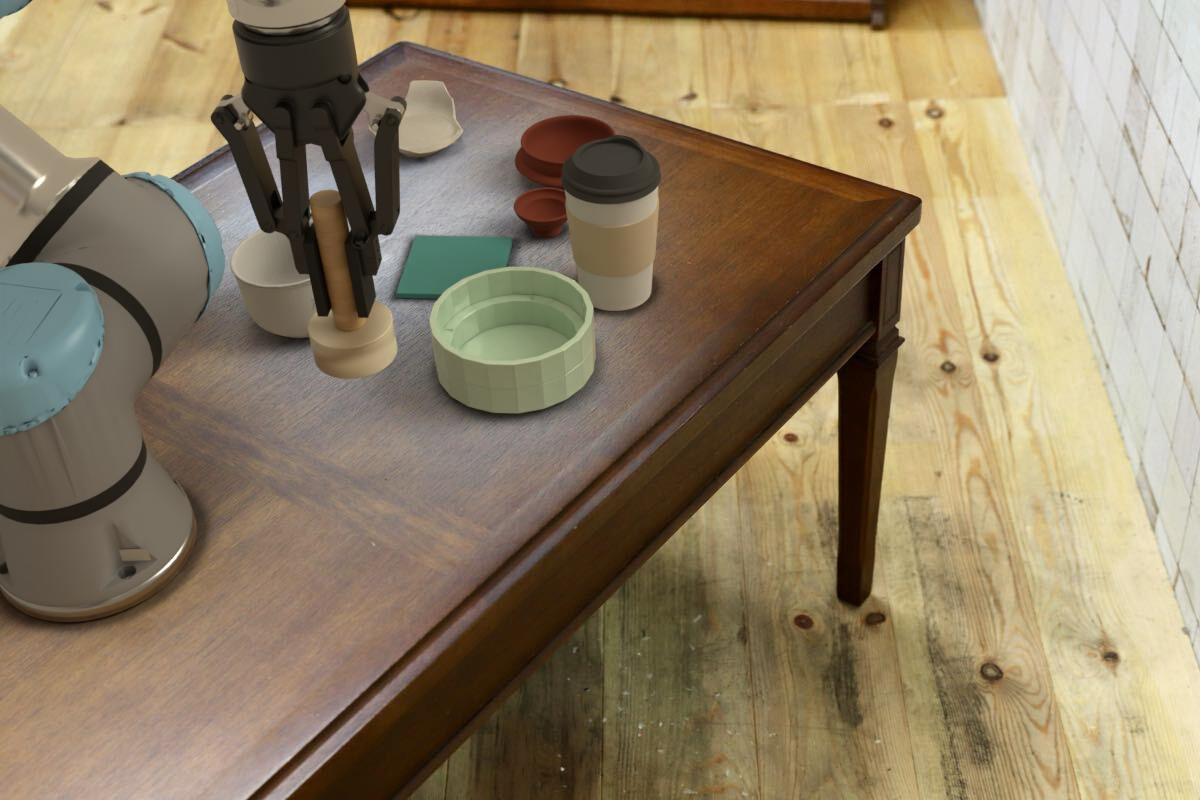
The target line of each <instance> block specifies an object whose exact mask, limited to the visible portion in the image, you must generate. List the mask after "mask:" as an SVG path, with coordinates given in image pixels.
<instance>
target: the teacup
mask: <svg viewBox="0 0 1200 800" xmlns="http://www.w3.org/2000/svg"><path fill="white" fill-rule="evenodd" d="M310 214H311V208H310ZM312 223H313V218H312V217H311V219H310V221H309V225H310V226H311V224H312ZM229 266H230V271H231V273H232V274H233V276H234V277H235V280H236V283H237V287H238V289H239V292H240V295H241V298H242V301H243V303H244V306H245V307H246V310H247V312H248V314H249V316H250V317H251V319H252V320H253V321H254V322H255V324H257V326H259V327H260V328H261V329H262V330H265V331H266V332H268V333H271V334H274V335H277V336H282V337H286V338H293V339H304V338H305V339H306V338H310V337H309V333H308V324H309V321H310V319H311V318H312V316H313V315H314V314H315V313H316V312H317V310H316V305H315V300H314V296H313V291H312V286H311V282H310V277H309V274H299V273H298V271H297V270H296V268H295V263H294V259H293V254H292V250H291V245H290V241H289V239H288V238H287V237H286V236H285V235H284V234H282V233H279V232H276V231H274V232H273V233H265V232H263V231H262V230H261V229H260V228H259V229H258V230H256V231H254V232H253V233H252V234H250V235H248V236H246V237H245V239H243V240H242V241H241V242H240V243H239V244H238V245H237V246H236V247H235V248H234V250H233V251H232V253H231V256H230V259H229Z"/></svg>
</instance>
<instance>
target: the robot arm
mask: <svg viewBox="0 0 1200 800" xmlns="http://www.w3.org/2000/svg"><path fill="white" fill-rule="evenodd" d="M32 2H33V0H0V20H1V19H3V18H5V17H8V16H10V15H13V14H16V13H18V12H19V11H22V10H23V9H24V8H26V7H27V6H28V5H30V3H32ZM225 2H226V5H227V10H228V13H229V14H230V16H231V17H232V18H233V19H234V20H233V22H232V26H231V27H232V28H231V29H232V33H233V37H234V42H235V46H236V51H237V56H238V60H239V64H240V68H241V72H242V73H243V77H244V80H243V81H244V82H243V84H242V87H241V90H240V93H238V94H235V95H233V94H224V95H223V96H221V99H220V100H219V102H218V103H217V105H216V106H215V108H214V109H213V111H212V113H211V115H210V121H211V123H212V124H213V126H214V127H215V129H217V131H218V132H219V133H220V134H221V136H222V137H223V138H224V140H225V141H226V142H227V144H228V146H229V148H230V152H231V154H232V157H233V160H234V163H235V165H236V169H237V171H238V173H239V176H240V178H241V182H242V184H243V187H244V189H245V192H246V196H247V197H248V200H249V202H250V205H251V208H252V210H253V214H254V216H255V219H256V221H257V225H258V227H259V230H260V229H261V230H262V231H263V232H265V233H273V232H274V231H276V232H279V233H282V234H284V235H285V236H286V237H287V238H288V239H289V241H290V245H291V250H292V254H293V259H294V263H295V268H296V270H297V271H298V273H299V274H309V277H310V282H311V286H312V291H313V296H314V300H315V305H316V310H317V315H318V316H321V317H328V315H329V312H330V310H331V306H330V301H329V296H328V292H327V287H326V282H325V277H324V272H323V267H322V262H321V257H320V252H319V248H318V243H317V238H316V233H315V228H314V223H312V224H311V226H310V225H309V221H310V219H311V217H312V213H311V214H310V203H309V199H310V190H309V175H308V160H307V159H308V158H307V145H310V144H311V145H315V146H318V147H320V148H321V151H322V155H323V157H324V159H325V162H328V164H329V167H330V169H331V173H332V176H333V179H334V182H335V185H336V188H337V191H339V194H340V197H341V200H342V203H343V207H344V210H345V213H346V216H347V220H348V226H349V231H350V233H349V235H348V237H347V240H346V242H345V244H344V245H345V250H346V256H347V261H348V266H349V271H350V277H351V282H352V287H353V292H354V298H355V303H356V308H357V313H358V318H368V317H369V314H370V312H371V309H372V306H373V303H374V301H375V300H376V299H377V294H376V288H375V282H374V277H376V276H377V275H378V272H379V269H380V267H381V264H382V261H383V256H382V252H381V246H380V245H381V244H380V240H379V236H381V235H382V236H391V235H392V233H393V232H394V230H395V227H396V224H397V221H398V219H399V217H400V213H401V183H400V182H401V181H400V179H401V178H400V177H401V176H400V152H399V125H400V123H401V120H402V118H403V115H404V113H405V111H406V108H407V103H406V101H405V97H404V98H403V97H402V96H399V95H396V96H395V95H394V96H393V97H391V98H390V99H388V98H386V97H383V96H382V95H378V94H376V93H375V92H372V91H370V86H369V84H368V82H367V80H366V79H365V78H364V76H363V75H362V73H361V72H360V69H359V63H358V56H357V51H356V44H355V38H354V31H353V25H352V20H351V14H350V10H349V8H348V6H346V5H345V3H346V2H347V1H346V0H226V1H225ZM362 111H364V112H365V113H366V114H367V116H368V122H369V125H370V127H371V130H372V131H374V132H377V133H376V136H375V138H374V140H373V141H374V142H373V163H374V164H373V165H374V192H375V193H374V194H375V197H374V199H375V207H374V203H373V200H372V197H371V193H370V190H369V187H368V184H367V181H366V177H365V174H364V170H363V167H362V164H361V161H360V158H359V155H358V151H357V147H356V144H355V132H354V129H353V125H354V124H355V122H356V121H357V119H358V117H359V116H360V114H361V113H362ZM254 115H255V117H256V118H257V119H258V120H259V121H260V122H262V123H263V124H264V125H265V126H266V127H267V128H268V129H269V130H270V131H271V132H272V133H273V135H274V141H275V154H276V158H277V159H278V161H279V174H280V185H281V194H280V191H279V188H278V186H277V185H278V184H277V182H276V179H275V177H274V174H273V171H272V168H271V166H270V165H271V164H270V163H269V160H268V157H267V154H266V151H265V149H264V146H263V142H262V141H261V137H260V134H259V132H258V129H257V127H256V124H255V122H254V121H253V120H254ZM225 270H226V254H225V252H224V249H223V238H222V235H221V233H220V230H219V228H218V226H217V223H216V222H215V220H214V218H213V217H212V215H211V213H210V212H209V210H208V209H207V208H206V206H205V205H204V203H202V202H201V201H200V199H199V198H198V197H197V196H196V195H195V194H194V193H192V192H191V190H189V189H188V188H186V187H185V186H184V185H182V184H181V183H179V182H177V181H176V180H174V179H172V178H170V177H168V176H165V175H163V174H160V173H158V174H155V175H151V173H149V172H148V171H134V172H130V173H126V174H120V173H119V172H118V171H116V170H115V169H114V168H112V166H110V165H109V164H107V163H106V162H105V161H104V160H102V159H101V158H100V157H98V156H91V157H90V156H89V157H70V156H66V155H65V154H64V153H62V152H61V151H60V150H58V149H57V148H56V147H55V146H53V145H52V144H51V143H50V142H48V141H47V140H46V139H44V138H43V137H42V136H40V134H38V132H36V131H35V130H33V129H32V128H31V127H30V126H28V125H27V124H25V122H23V121H22V120H21V119H20V118H19V117H17V116H16V115H15V114H13V113H12V112H11V111H9V110H8V109H7V108H5V107H4V106H3V105H2V104H1V103H0V592H1V593H2V595H3V597H4V598H5V599H6V600H7V602H8V603H9V604H10V605H12V607H14V608H15V609H17V610H18V611H20V612H22V613H24V614H26V615H27V616H30V617H32V618H35V619H39V620H43V621H49V622H58V623H75V622H87V621H92V620H97V619H101V618H105V617H108V616H112V615H115V614H118V613H122V612H123V611H126V610H128V609H131V608H132V607H134V606H137V605H138V604H141V603H142V602H144V601H146V600H148V599H149V598H151V597H152V596H153V595H155V594H156V593H158V592H159V591H161V590H162V589H163V588H165V586H168V584H169V583H170V582H171V581H172V580H174V578H175V577H176V576H177V575H178V574H179V573H180V572H181V570H182V569H183V568H184V567H185V565H186V563H187V562H188V560H189V558H190V557H191V555H192V552H193V550H194V547H195V545H196V540H197V535H198V534H197V533H198V524H197V523H198V522H197V520H196V514H195V512H194V509H193V506H192V502H191V500H190V498H189V496H188V494H187V492H186V491H185V489H184V488H183V487H182V486H181V484H180V483H179V482H178V481H177V480H176V479H175V478H174V477H173V476H172V475H171V474H169V473H168V472H167V470H166V469H165V468H164V467H163V465H162V464H161V463H160V462H159V461H158V460H157V459H156V457H155V456H154V455H153V454H152V453H151V452H150V450H149V449H148V448H147V446H146V442H145V439H144V437H143V433H142V431H141V428H140V427H141V426H140V424H139V422H138V418H137V416H136V412H135V409H134V407H135V402H136V400H137V398H138V396H139V395H140V394H141V392H142V391H143V390H144V389H145V387H146V386H147V385H148V383H149V382H150V380H151V379H152V378H153V377H154V376H155V375H156V373H157V372H158V371H159V369H160V368H161V366H162V365H163V364H164V363H165V361H166V360H167V359H168V357H170V355H171V354H172V353H173V351H174V350H175V348H176V347H177V346H178V345H179V343H180V342H181V341H182V339H183V338H184V337H185V336H186V334H187V333H188V332H189V330H190V329H191V328H192V327H193V326H194V324H196V323H197V322H198V321H199V320H200V318H201V317H202V316H203V315H205V314H206V312H207V310H208V308H209V307H210V302H211V300H212V298H213V297H214V295H215V294H216V292H217V291H218V289H219V287H220V285H221V284H222V281H223V278H224V274H225ZM373 276H374V277H373Z"/></svg>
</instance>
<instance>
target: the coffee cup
mask: <svg viewBox="0 0 1200 800" xmlns="http://www.w3.org/2000/svg"><path fill="white" fill-rule="evenodd" d="M661 181H662V173H661V165H660V162H659V160H658V159H657V158H656V157H655V155H653V154H651V153H650V152H649V151H647V150H646V149H645V148H644V147H643V146H641V144H640V143H639V142H638V141H637V140H636V139H635V138H633V137H631V136H627V135H623V134H622V135H621V134H616V135H613V136H610V137H608V138H606V139H601V140H595V141H592V142H588V143H586V144H584V145H582V146H580V147H579V148H578V149H577V150H576V151H575V152H574V153H573V154H572V155H570V156H569V157H568V158H567V159H566V161H565V162H564V164H563V167H562V176H561V183H562V186H563V188H562V189H563V190H565V194H566V201H565V206H566V213H567V219H568V220H567V225H568V231H569V238H570V239H569V240H570V245H571V251H572V258H573V261H574V263H575V267H576V274H577V283H578V284H579V285H580V286H581V287H582V288H583V289H584V290H585V291H586V292H587V293H588V295H589V297H590V300H591V303H592V305H593V308H595V309H597V310H602V311H607V312H622V311H627V310H632V309H635V308H637V307H639V306H641V305H643V304H644V303H645V302H646V301H647V300H648V299H649V298H650V296H651V294H652V287H653V272H654V261H655V258H656V253H657V238H658V223H659V209H660V197H659V185H660V183H661Z"/></svg>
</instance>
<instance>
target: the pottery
mask: <svg viewBox="0 0 1200 800" xmlns="http://www.w3.org/2000/svg"><path fill="white" fill-rule="evenodd" d="M613 135H617V134H616V132H615V130H614V129H613V127H612V126H611V125H610V124H608V123H607V122H605V121H603V120H600V119H599V118H596V117H591V116H588V115H579V114H567V115H566V114H565V115H558V116H553V117H548V118H545V119H542V120H539V121H538V122H535V123H534V124H533V123H532V125H530V126H529V127H527V129H525V131H524V132H523V134H522V135H521V138H520V147H519V149H518V150H517V151H516V153H515V157H514V165H515V168H516V170H517V171H518V173H519V174H520V175H521V176H523V177H524V178H525V179H527V180H528V181H531V182H534V183H535V184H539V185H541V186H546V187H538V188H534V189H530V190H527V191H525V192H523V193H522V194H520V195H519V196H518V197H516V199H515V200H514V203H513V211H514V213H515V215H516V217H518V219H520V220H521V221H522V222H524V224H525V225H526V226H528V227H529V228H531V229H532V233H533V234H534V235H535V236H537V237H538V238H543V239H544V238H545V239H546V238H547V239H548V238H553V237H556V236H558V235H559V234H560V233H562V226H564V225H565V224H566V223H568V219H567V213H566V206H565V201H566V194H565V189H564V188H563V186H562V183H561V176H562V167H563V164H564V162H565V161H566V159H567V158H568V157H569V156H570V155H572V154H573V153H574V152H575V151H576V150H577V149H578V148H579V147H580V146H582V145H584V144H586V143H588V142H592V141H595V140H601V139H606V138H608V137H610V136H613Z"/></svg>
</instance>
